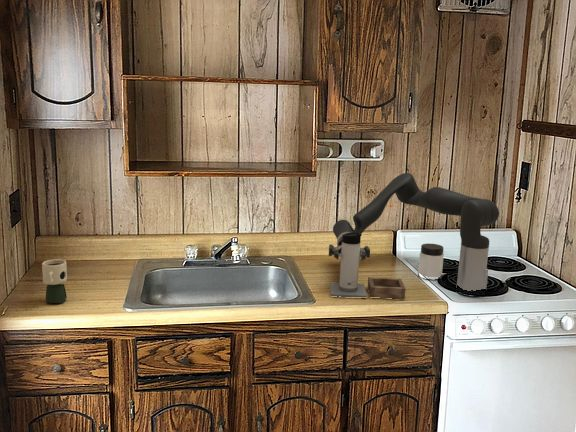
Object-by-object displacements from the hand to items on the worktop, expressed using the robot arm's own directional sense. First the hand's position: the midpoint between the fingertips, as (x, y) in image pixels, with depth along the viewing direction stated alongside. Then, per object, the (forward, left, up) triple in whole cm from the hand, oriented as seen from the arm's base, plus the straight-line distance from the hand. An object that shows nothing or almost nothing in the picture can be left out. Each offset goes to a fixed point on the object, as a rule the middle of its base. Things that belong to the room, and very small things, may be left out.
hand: (350, 257), depth 202 cm
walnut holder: (-13, -2, -13) cm, 19 cm away
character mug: (+93, +19, -13) cm, 96 cm away
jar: (-32, -23, -13) cm, 42 cm away
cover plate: (0, -2, -13) cm, 13 cm away
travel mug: (0, -2, -12) cm, 12 cm away
